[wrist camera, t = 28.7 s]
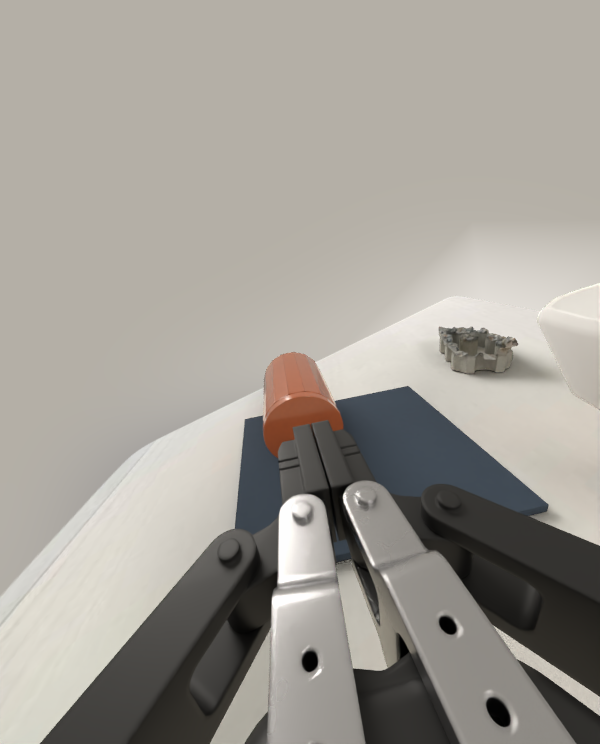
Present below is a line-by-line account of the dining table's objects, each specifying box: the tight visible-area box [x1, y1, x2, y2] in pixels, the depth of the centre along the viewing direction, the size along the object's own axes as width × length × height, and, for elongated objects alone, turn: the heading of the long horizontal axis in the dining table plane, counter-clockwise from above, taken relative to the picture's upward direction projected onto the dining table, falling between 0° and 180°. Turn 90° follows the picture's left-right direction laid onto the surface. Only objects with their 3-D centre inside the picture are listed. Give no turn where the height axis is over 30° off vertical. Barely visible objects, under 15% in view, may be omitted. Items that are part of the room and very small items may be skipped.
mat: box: [235, 386, 548, 562], centre depth 25 cm, size 20×18×1 cm
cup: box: [263, 352, 343, 458], centre depth 28 cm, size 7×7×11 cm
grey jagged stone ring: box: [439, 327, 518, 374], centre depth 39 cm, size 11×8×4 cm
